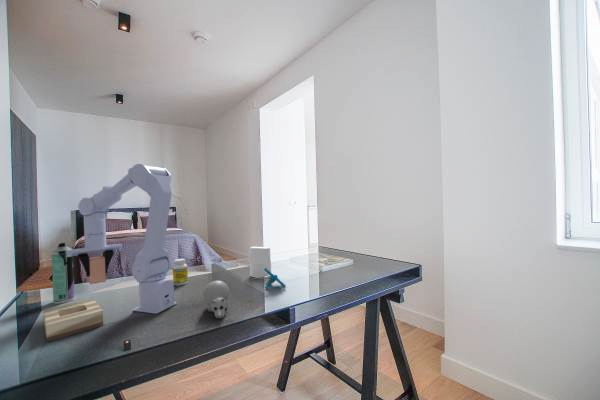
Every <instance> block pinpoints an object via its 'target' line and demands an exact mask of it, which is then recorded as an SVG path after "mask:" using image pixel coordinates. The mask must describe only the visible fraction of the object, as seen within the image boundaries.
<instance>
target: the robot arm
mask: <svg viewBox="0 0 600 400" xmlns="http://www.w3.org/2000/svg"><path fill="white" fill-rule="evenodd" d="M171 180H172V174H171V173H170V172H169V170H168V169H167V168H165V167H163V166H154V165H147V164H143V163H136V164H134V165H133V166H132V167H130V168H128V170H127V174H126V175H125V176H123V177H122V178H121V179H120V180H118V182H117V183H115V184H114V185H104V186H102V188H101V190H100V191H97V193H94V194H92V196H91V197H83V198H81V200H79V203H78V207H77V208H78V211H79V213H80V214H81V215H82V216H83V233H84V234H83V237H84V247H81V248H75V249H73V248H72V250H67V257H72V256H73V257H75V256H77V258H78V260H79V261H80V262H81V265H82V267H83V268H84V271H85V275H86V277H87V278H88V277H90V270H89V258H90V255H89V254H97V253H102V256H103V257H105V274H108V269H109V266H110V263H111V260H112V258H113V257H114V254H115V251H122V250H123V244H122V243H114V244H113V243H112V244H107V232H106V231H107V227H106V224H107V223H106V220H107V218H108V213H109V211H110V208H111V207H112V206H113V205H115V204H116V203H118V202H120V201H121V200H122V196H123V195H124V194H125V193H127V192H129V191H130V190H132V189H134V188H135V187H138V188H139V189H141V190H142V191H144V192H145V193H147V195H148V196H149V197H150V200H149V206H148V207H149V208H148V216H147V223H146V229H145V237H144V243H143V248H142V249H141V250H140V251H139V252H138V253H137V254H136V256H135V260H134V262H133V264H132V266H131V275H132V277H133V278H134V280H135V281H136V282H137V283H138V290H139V291H138V293H139V306H137V307H135V308H133V309H132V311H133V312H134V311H135V312H141V313H148V314H154V315H157V314H159V313H160V312H163V311H165V310H167V309H170V307H171V308H172V306H175V305H176V304H177V301H175V285H174V283H173V281H172V280H171V279H168V278H167V277H166V276H168V272H169V271H170V269H171V265H172V264H171V259H170V254H171V253H170V252H169V251H168V250H167V249H166V248H165V242H166V236H167V229H168V222H169V216H170V215H169V214H170V209H171V208H170V207H171V202H172V201H171V200H172V195H173V194H172V193H173V192H172V188H171V187H172V186H171Z"/></svg>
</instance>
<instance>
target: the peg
mask: <svg viewBox="0 0 600 400" xmlns="http://www.w3.org/2000/svg"><path fill="white" fill-rule="evenodd" d="M89 270H90V277H87V279H88V283H89V284H90V285H95V284H100V283H106V282H107V277H106V274H107V273H106V274H105V257H103V255H102V256H101V255H100V256H96V257H94V256H93V257H89Z"/></svg>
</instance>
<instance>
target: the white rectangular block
mask: <svg viewBox="0 0 600 400" xmlns="http://www.w3.org/2000/svg"><path fill="white" fill-rule="evenodd" d="M265 268H266V269H267V270H268V271H270V272H271V273H272V260H271V247H270V246H269V247H268V246H250V247H249V277H250V276H252V277H265V276H268V275H269V274H268V273H267V272H266V271H265V270H264V269H265Z"/></svg>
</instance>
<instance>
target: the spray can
mask: <svg viewBox="0 0 600 400" xmlns="http://www.w3.org/2000/svg"><path fill="white" fill-rule="evenodd" d="M67 250H73V248H71V247H68V245H66V242H61V243H58V246H57V247H56V248H54V250H52V251H51V266H52V267H51V272H52V274H51V275H52V299H53V304H55V305H57V304H58V305H59V304H65V303H69V302H72V301H74V300H75V275H74V256H72V257H67Z"/></svg>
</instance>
